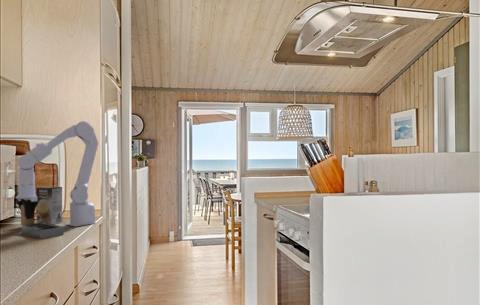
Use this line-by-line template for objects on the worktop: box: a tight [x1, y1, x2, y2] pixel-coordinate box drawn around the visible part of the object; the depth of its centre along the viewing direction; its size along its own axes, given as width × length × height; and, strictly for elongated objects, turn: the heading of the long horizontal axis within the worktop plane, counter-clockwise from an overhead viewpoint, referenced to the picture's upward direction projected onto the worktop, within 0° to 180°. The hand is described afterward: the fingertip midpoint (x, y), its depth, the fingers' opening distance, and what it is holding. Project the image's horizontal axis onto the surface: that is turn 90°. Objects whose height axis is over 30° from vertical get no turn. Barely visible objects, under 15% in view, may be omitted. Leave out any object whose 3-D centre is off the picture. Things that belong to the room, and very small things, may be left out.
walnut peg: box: [20, 205, 35, 226], centre depth 148 cm, size 4×4×8 cm
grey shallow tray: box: [21, 222, 65, 240], centre depth 139 cm, size 8×17×3 cm, turn 51°
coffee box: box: [35, 185, 63, 225], centre depth 163 cm, size 9×6×16 cm
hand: (27, 218), depth 148 cm, fingers closed on walnut peg, 4 cm apart
